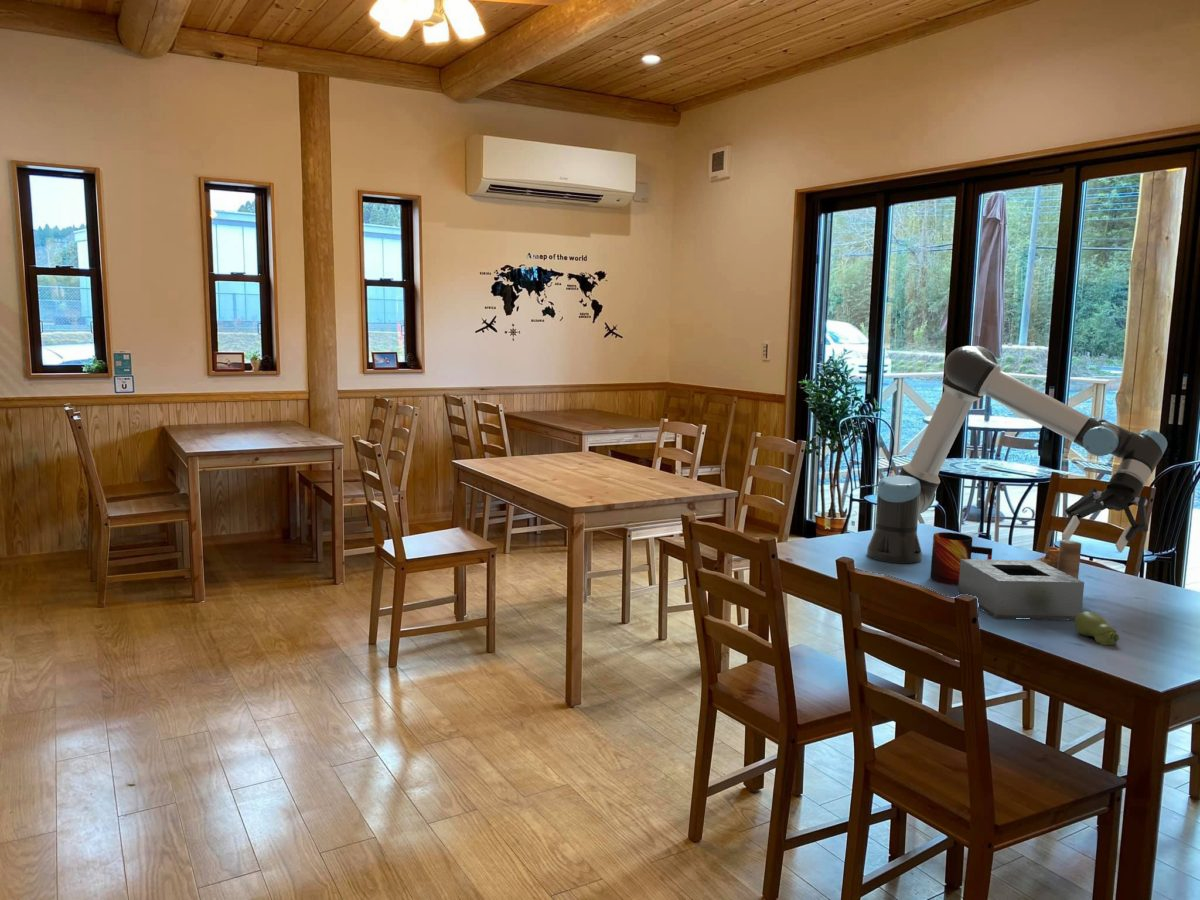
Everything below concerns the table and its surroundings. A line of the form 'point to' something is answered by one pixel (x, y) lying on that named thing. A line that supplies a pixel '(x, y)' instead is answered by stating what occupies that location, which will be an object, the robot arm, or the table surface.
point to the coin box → (1021, 589)
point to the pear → (1096, 628)
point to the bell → (1051, 557)
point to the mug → (952, 556)
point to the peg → (1069, 557)
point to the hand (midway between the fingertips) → (1091, 543)
